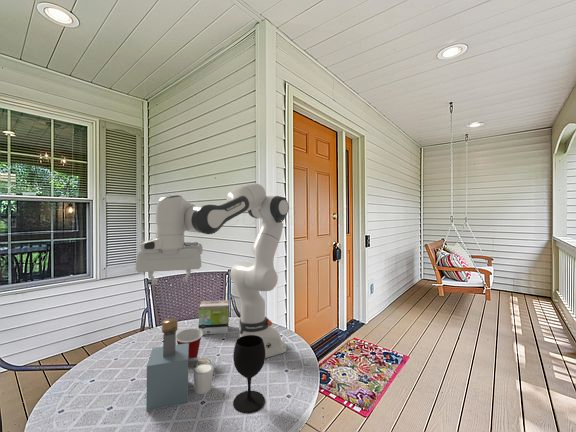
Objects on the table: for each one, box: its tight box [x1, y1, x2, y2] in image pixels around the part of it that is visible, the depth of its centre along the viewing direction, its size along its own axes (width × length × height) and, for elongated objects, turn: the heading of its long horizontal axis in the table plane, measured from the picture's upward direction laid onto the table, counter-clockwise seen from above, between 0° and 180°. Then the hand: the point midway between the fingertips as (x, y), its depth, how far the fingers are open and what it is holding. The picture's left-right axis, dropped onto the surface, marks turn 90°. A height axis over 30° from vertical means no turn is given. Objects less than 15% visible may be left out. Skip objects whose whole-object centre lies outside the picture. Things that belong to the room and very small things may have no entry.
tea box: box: [198, 299, 230, 335], centre depth 142 cm, size 15×10×15 cm, turn 102°
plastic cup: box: [176, 327, 204, 358], centre depth 110 cm, size 11×11×12 cm
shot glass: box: [193, 363, 214, 395], centre depth 94 cm, size 7×7×7 cm
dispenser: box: [145, 331, 199, 412], centre depth 91 cm, size 15×12×21 cm
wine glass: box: [232, 335, 266, 414], centre depth 87 cm, size 10×10×20 cm
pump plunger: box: [161, 317, 179, 335], centre depth 90 cm, size 5×5×11 cm
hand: (170, 283), depth 90 cm, fingers open, 8 cm apart
